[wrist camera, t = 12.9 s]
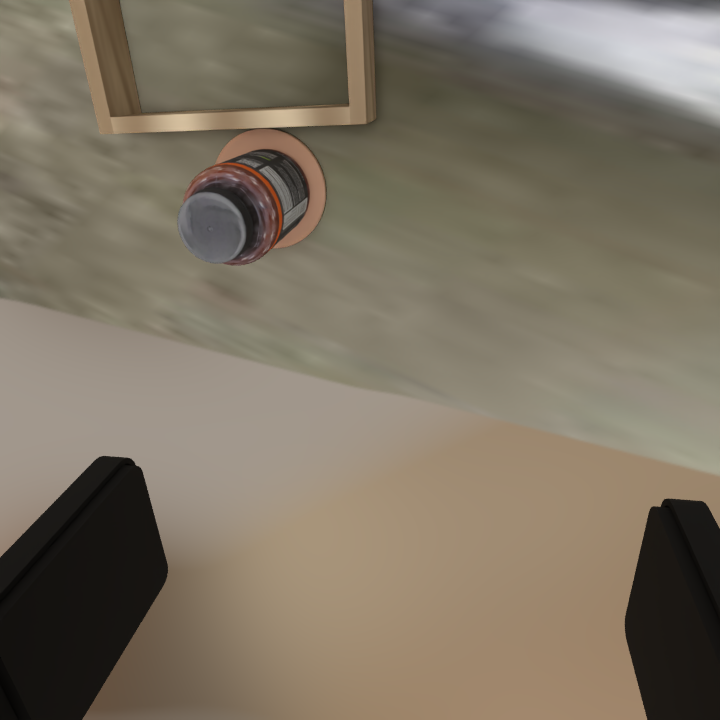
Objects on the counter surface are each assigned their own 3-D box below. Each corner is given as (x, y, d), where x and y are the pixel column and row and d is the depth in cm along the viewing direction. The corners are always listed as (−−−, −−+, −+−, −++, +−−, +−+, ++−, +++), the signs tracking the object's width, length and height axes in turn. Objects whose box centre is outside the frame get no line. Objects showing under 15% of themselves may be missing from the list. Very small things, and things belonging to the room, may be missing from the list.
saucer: (321, 125, 39) (319, 126, 39) (330, 246, 43) (328, 248, 42) (207, 130, 41) (203, 130, 40) (225, 246, 45) (222, 248, 44)
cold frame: (369, -85, 34) (357, -103, 30) (376, 118, 38) (366, 123, 35) (93, -56, 37) (53, -69, 33) (131, 128, 42) (100, 134, 38)
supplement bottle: (249, 239, 43) (182, 290, 33) (221, 159, 41) (139, 188, 31) (323, 221, 42) (275, 269, 32) (298, 137, 39) (238, 160, 29)
